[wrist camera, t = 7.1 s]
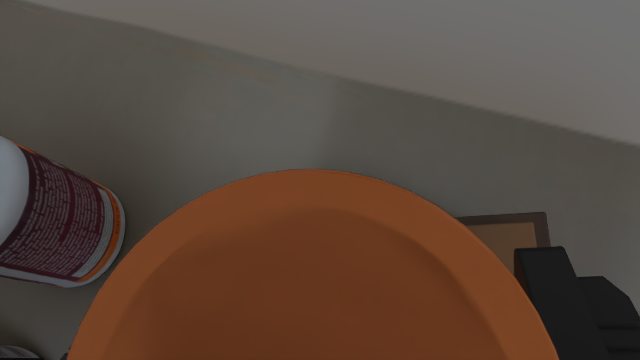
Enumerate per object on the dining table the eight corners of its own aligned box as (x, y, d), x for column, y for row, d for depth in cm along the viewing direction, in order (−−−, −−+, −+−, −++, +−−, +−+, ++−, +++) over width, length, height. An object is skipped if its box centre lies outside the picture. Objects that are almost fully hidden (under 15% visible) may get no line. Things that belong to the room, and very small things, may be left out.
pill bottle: (123, 171, 24) (-34, 81, 16) (134, 271, 22) (-36, 224, 15) (32, 202, 25) (-159, 130, 17) (36, 302, 23) (-175, 272, 15)
